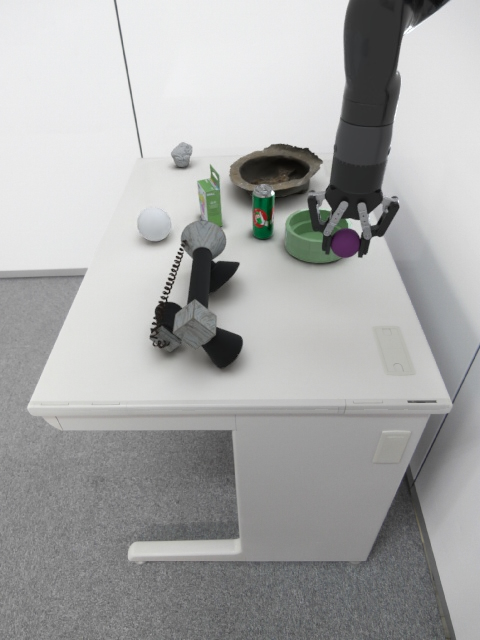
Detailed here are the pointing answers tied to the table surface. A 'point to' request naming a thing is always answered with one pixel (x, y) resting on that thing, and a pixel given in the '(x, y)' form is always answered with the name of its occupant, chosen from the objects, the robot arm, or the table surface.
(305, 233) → the green bowl
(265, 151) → the stone bowl
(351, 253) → the plum ball
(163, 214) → the ball
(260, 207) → the soda can
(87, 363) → the table surface
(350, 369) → the table surface
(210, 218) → the ink box
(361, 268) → the table surface
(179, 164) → the grey muffin
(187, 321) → the telephone
